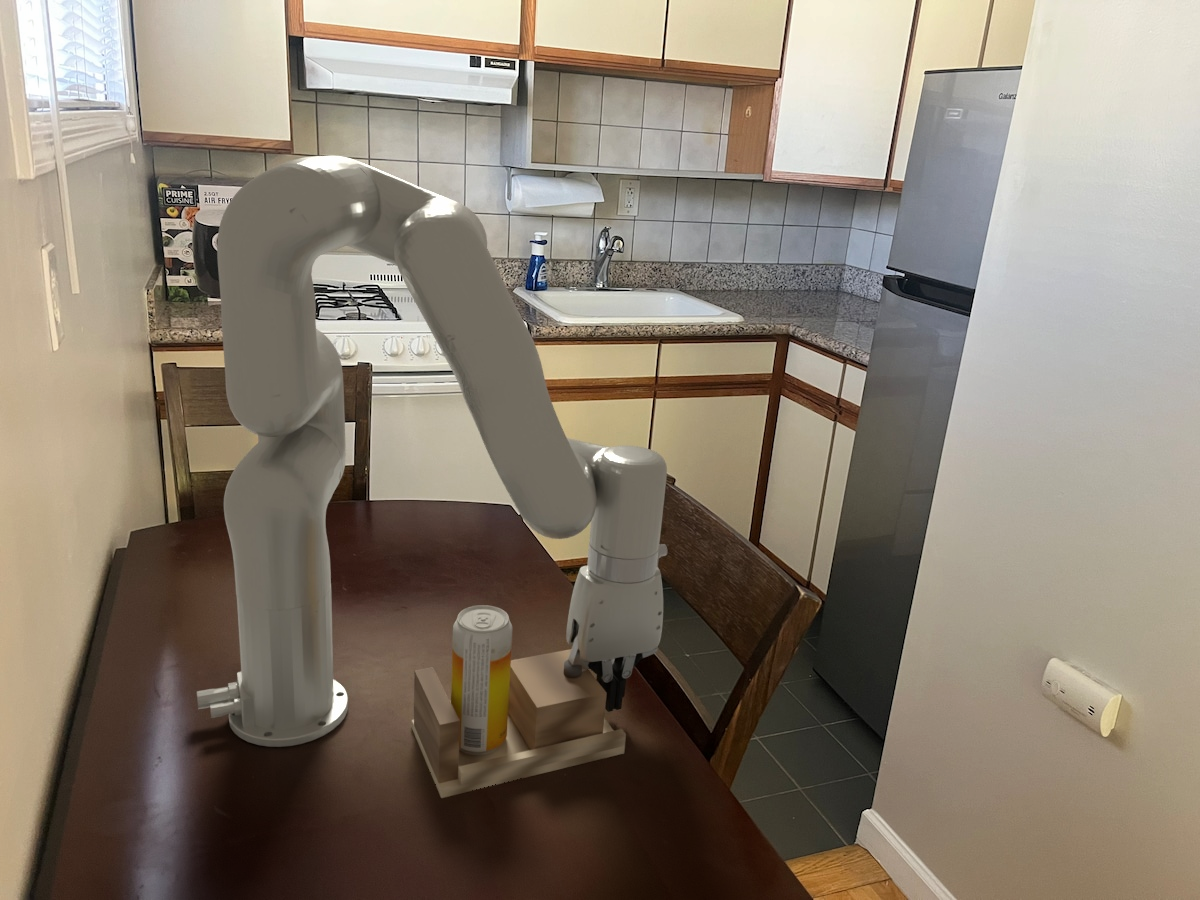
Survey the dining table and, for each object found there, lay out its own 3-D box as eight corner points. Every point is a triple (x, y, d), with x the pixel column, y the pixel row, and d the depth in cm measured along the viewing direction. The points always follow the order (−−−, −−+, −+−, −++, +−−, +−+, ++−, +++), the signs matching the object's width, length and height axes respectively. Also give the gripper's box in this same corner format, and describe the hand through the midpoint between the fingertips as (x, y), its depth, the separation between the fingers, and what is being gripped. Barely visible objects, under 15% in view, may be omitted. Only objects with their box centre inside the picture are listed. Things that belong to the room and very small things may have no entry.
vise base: (441, 798, 89) (442, 730, 86) (411, 727, 99) (412, 665, 97) (624, 753, 98) (630, 690, 95) (579, 692, 108) (584, 634, 105)
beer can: (508, 724, 99) (514, 604, 95) (504, 759, 94) (511, 634, 89) (453, 721, 99) (456, 601, 94) (446, 757, 93) (449, 631, 88)
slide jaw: (534, 755, 94) (537, 697, 92) (504, 706, 102) (507, 651, 100) (602, 739, 98) (607, 683, 95) (569, 693, 105) (573, 639, 103)
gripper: (665, 537, 103) (650, 674, 109) (545, 553, 96) (536, 698, 102) (699, 565, 97) (681, 709, 103) (573, 585, 90) (561, 737, 96)
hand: (608, 703), depth 102 cm, fingers closed
